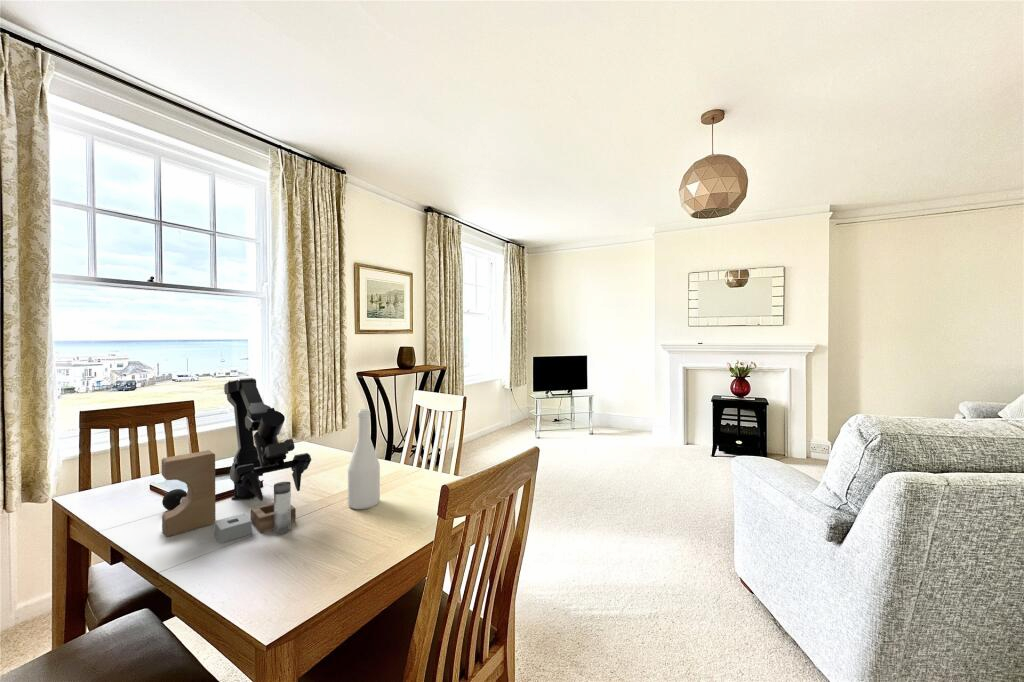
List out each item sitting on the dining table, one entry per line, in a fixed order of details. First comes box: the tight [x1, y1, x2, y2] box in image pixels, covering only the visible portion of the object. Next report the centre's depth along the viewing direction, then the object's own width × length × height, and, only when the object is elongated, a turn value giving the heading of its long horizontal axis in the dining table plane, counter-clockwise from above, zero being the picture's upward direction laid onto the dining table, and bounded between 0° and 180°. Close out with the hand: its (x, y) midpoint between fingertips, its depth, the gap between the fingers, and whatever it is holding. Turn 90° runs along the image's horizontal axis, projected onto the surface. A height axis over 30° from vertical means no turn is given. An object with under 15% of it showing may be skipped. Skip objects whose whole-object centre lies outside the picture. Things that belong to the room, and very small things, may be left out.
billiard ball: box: [161, 488, 187, 511], centre depth 127 cm, size 6×6×6 cm
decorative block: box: [161, 449, 217, 538], centre depth 115 cm, size 11×6×20 cm, turn 137°
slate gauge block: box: [213, 512, 253, 544], centre depth 112 cm, size 7×7×4 cm
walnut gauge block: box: [250, 501, 297, 534], centre depth 119 cm, size 9×9×4 cm
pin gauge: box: [273, 481, 292, 536], centre depth 113 cm, size 4×4×13 cm
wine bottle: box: [347, 408, 381, 510], centre depth 132 cm, size 10×10×30 cm
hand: (280, 495), depth 114 cm, fingers open, 9 cm apart
